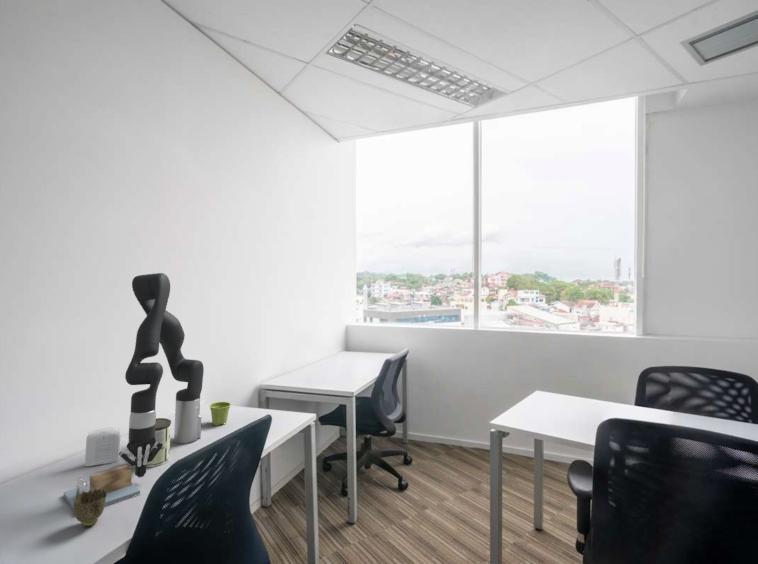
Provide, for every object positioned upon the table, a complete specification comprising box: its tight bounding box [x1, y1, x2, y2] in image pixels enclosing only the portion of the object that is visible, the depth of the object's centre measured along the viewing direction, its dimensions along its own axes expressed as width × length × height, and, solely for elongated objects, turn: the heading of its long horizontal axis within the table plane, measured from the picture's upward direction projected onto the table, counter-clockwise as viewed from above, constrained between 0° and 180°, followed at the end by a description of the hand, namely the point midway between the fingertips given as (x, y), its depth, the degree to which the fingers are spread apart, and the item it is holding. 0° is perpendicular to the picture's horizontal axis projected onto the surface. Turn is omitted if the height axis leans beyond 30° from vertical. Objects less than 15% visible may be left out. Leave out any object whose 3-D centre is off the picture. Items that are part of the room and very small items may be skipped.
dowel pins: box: [75, 477, 87, 498], centre depth 121 cm, size 2×5×5 cm, turn 50°
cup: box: [73, 489, 107, 528], centre depth 111 cm, size 8×7×8 cm
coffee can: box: [146, 417, 172, 468], centre depth 149 cm, size 10×10×14 cm
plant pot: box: [208, 401, 232, 426], centre depth 189 cm, size 9×9×9 cm
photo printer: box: [84, 427, 122, 467], centre depth 146 cm, size 10×4×12 cm, turn 123°
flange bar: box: [89, 465, 133, 493], centre depth 127 cm, size 10×4×5 cm, turn 140°
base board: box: [63, 482, 141, 511], centre depth 125 cm, size 16×15×1 cm
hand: (140, 476), depth 133 cm, fingers closed
